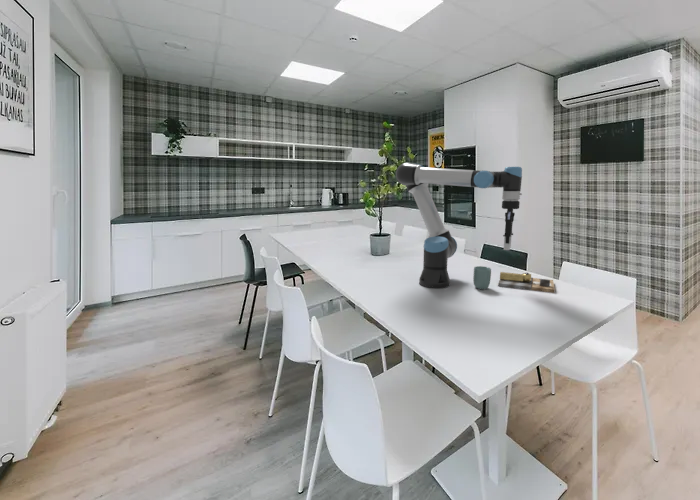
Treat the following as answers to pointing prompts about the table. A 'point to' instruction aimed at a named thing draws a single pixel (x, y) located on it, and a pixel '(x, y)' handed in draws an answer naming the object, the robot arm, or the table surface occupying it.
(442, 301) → the table surface
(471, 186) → the robot arm
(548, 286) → the door board
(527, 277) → the latch arm
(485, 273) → the cup
